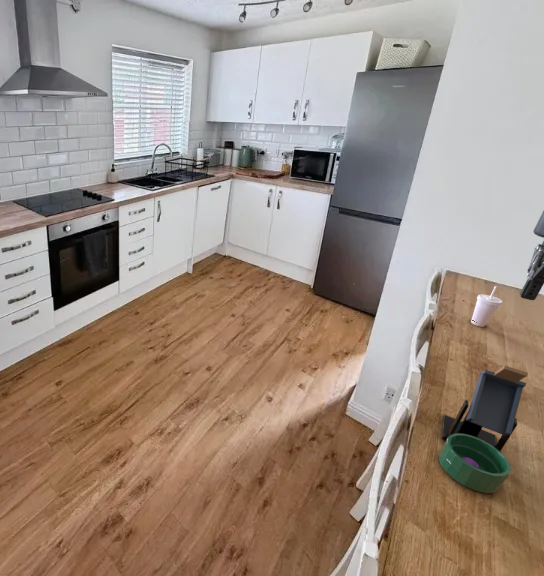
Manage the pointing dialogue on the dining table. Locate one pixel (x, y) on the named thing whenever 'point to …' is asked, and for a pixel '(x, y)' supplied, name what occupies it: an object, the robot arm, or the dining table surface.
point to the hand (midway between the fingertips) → (526, 297)
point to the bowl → (484, 454)
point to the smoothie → (485, 308)
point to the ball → (470, 462)
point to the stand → (471, 429)
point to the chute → (497, 399)
